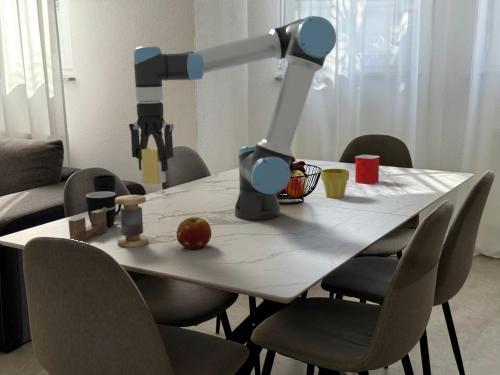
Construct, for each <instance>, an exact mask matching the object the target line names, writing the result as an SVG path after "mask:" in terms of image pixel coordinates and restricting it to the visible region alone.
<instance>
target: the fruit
mask: <svg viewBox="0 0 500 375" xmlns="http://www.w3.org/2000/svg"><path fill="white" fill-rule="evenodd" d="M211 238H212V228H211V226H210V223H209V222H208V221H207V220H206V219H205V218H203V217H199V216H192V217H188V218H187V217H186V218H185V219H183V220H182V221H181V222H180V224H178V226H177V230H176V240H177V243H179V245H181V246H182V247H185V248H188V249H193V250H195V249H202V248H204V247H205V246H207V245H208V244H209V242H210V240H211Z"/></svg>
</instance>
